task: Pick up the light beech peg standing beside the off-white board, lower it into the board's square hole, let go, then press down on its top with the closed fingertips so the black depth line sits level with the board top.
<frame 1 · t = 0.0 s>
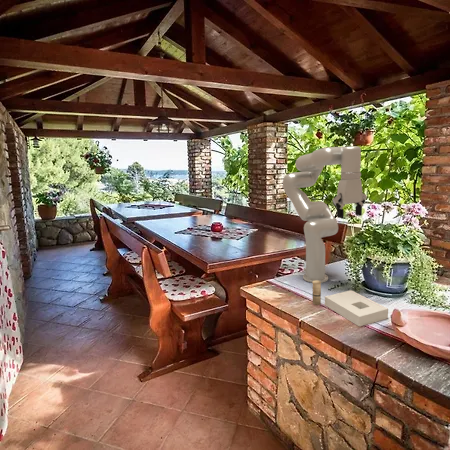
hand: (349, 216, 139), 37 cm above the counter, tool pointing down, fingers open, 9 cm apart
beech peg: (316, 303, 140), on the counter
peg board: (354, 311, 131), on the counter
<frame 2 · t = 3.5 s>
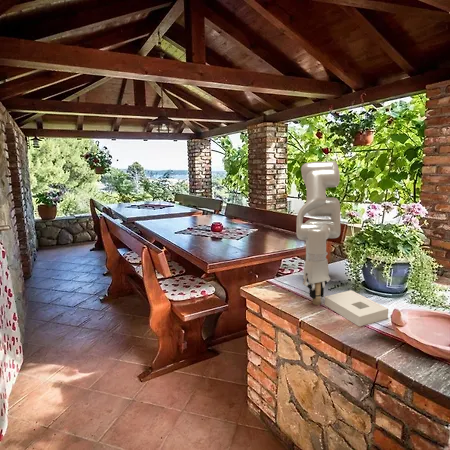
hand: (316, 296, 140), 3 cm above the counter, tool pointing down, fingers closed on beech peg, 3 cm apart
beech peg: (316, 303, 140), on the counter, touching gripper
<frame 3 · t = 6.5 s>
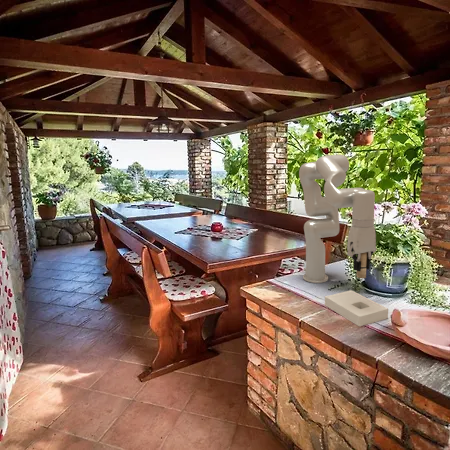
hand: (361, 268, 125), 19 cm above the counter, tool pointing down, fingers closed on beech peg, 3 cm apart
beech peg: (361, 276, 125), point 16 cm above the counter, touching gripper
when the fingers open (6 cm above the counter, at t = 9.3 s): beech peg drops 2 cm, resting in peg board.
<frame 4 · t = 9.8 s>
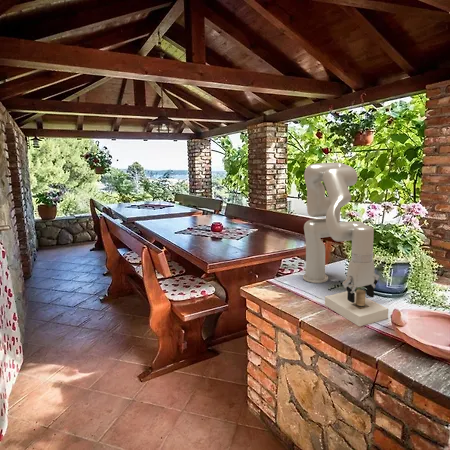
hand: (360, 298, 127), 7 cm above the counter, tool pointing down, fingers open, 9 cm apart
beech peg: (360, 314, 129), resting in peg board
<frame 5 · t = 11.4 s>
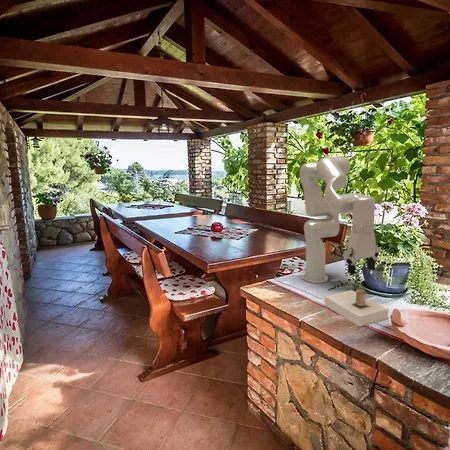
hand: (361, 271, 125), 18 cm above the counter, tool pointing down, fingers open, 9 cm apart
nothing on the counter moved.
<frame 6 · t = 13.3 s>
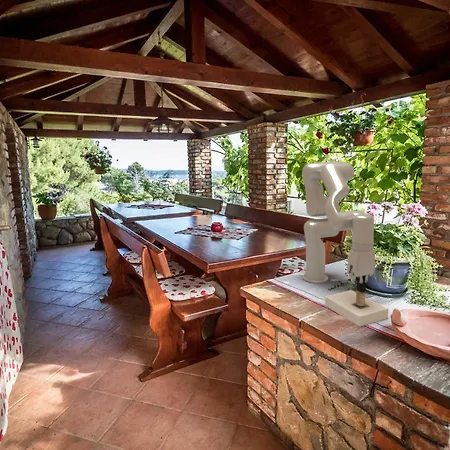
hand: (361, 291, 126), 10 cm above the counter, tool pointing down, fingers closed
beech peg: (360, 314, 129), resting in peg board, touching gripper
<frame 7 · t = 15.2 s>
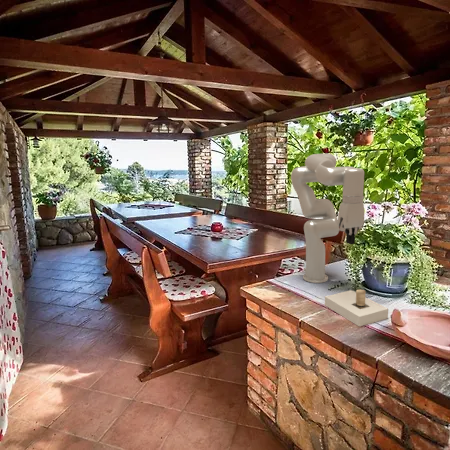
hand: (350, 243, 133), 27 cm above the counter, tool pointing down, fingers closed
beech peg: (360, 314, 129), resting in peg board
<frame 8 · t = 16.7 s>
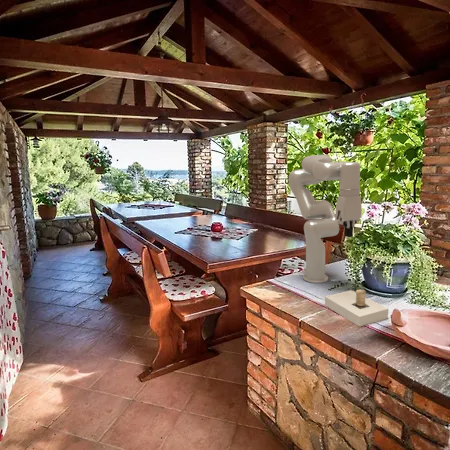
hand: (348, 236, 135), 29 cm above the counter, tool pointing down, fingers closed
nothing on the counter moved.
at the end: beech peg 0.0 cm from the target spot on the peg board, point 0.0 cm above the peg board's base; beech peg tilted 0°; the gripper is holding nothing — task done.
